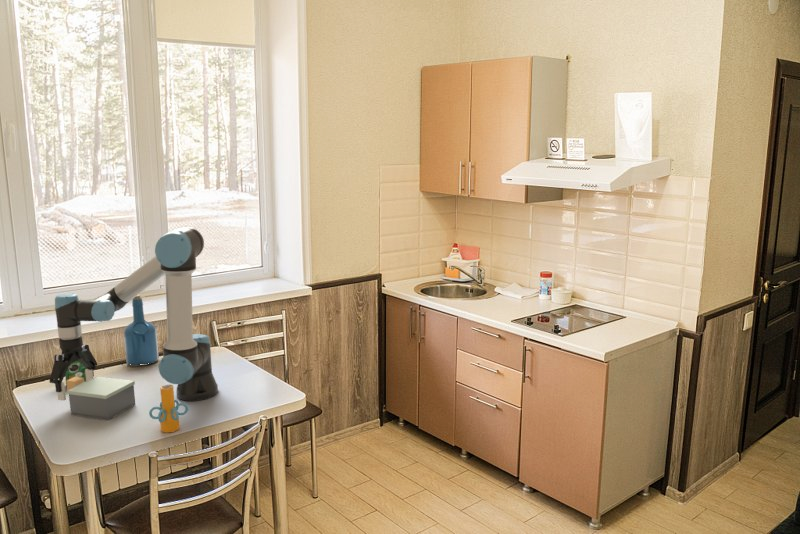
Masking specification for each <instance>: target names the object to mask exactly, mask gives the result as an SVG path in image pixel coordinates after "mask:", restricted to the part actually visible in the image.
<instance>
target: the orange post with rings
mask: <svg viewBox="0 0 800 534" xmlns="http://www.w3.org/2000/svg"><path fill="white" fill-rule="evenodd" d="M174 391H175V390H174V384H165V385H161V386H160V398H161V400H160V404H159V406H154V407H151V409H150V410H149V417H150V418H151V419H154V420H158V422H159V423H160V424H159V425H160V431H161V432H162V433H165V434H169V433H170V434H171V433H173V432H177V431H179V429H180V428H181V427H180V426H181V425H180V417H179V416H185V415H186V414H187V413H188V411H189V407H188V404H186V403H185V402H181V403H179V401H178V400H177V399H175V394H174V393H175V392H174ZM175 404H176V405H175ZM180 406H183V407H185V408H184V409H185V410H184V411H183V412H179V411H178V410H179V408H180ZM154 410H159V412H158V415H157V416H154V415H153V411H154Z"/></svg>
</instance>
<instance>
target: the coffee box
mask: <svg viewBox="0 0 800 534" xmlns="http://www.w3.org/2000/svg"><path fill="white" fill-rule="evenodd" d="M82 355H84V354H83V352H82ZM84 356H85V355H84ZM85 358H86V357H85ZM65 362H66V361H65ZM85 369H88V368H86V367H85V366H84V365H83V364H82V363H81V362H80V361H79V360H78V361H75V362H74V363H71V365H70V366H69V367H68V369H67V371H66V374H65V376H64V378H65V384H66V386H67V380H69V379H71V378H73V377H81V378H84V381H86V374H85Z"/></svg>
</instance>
